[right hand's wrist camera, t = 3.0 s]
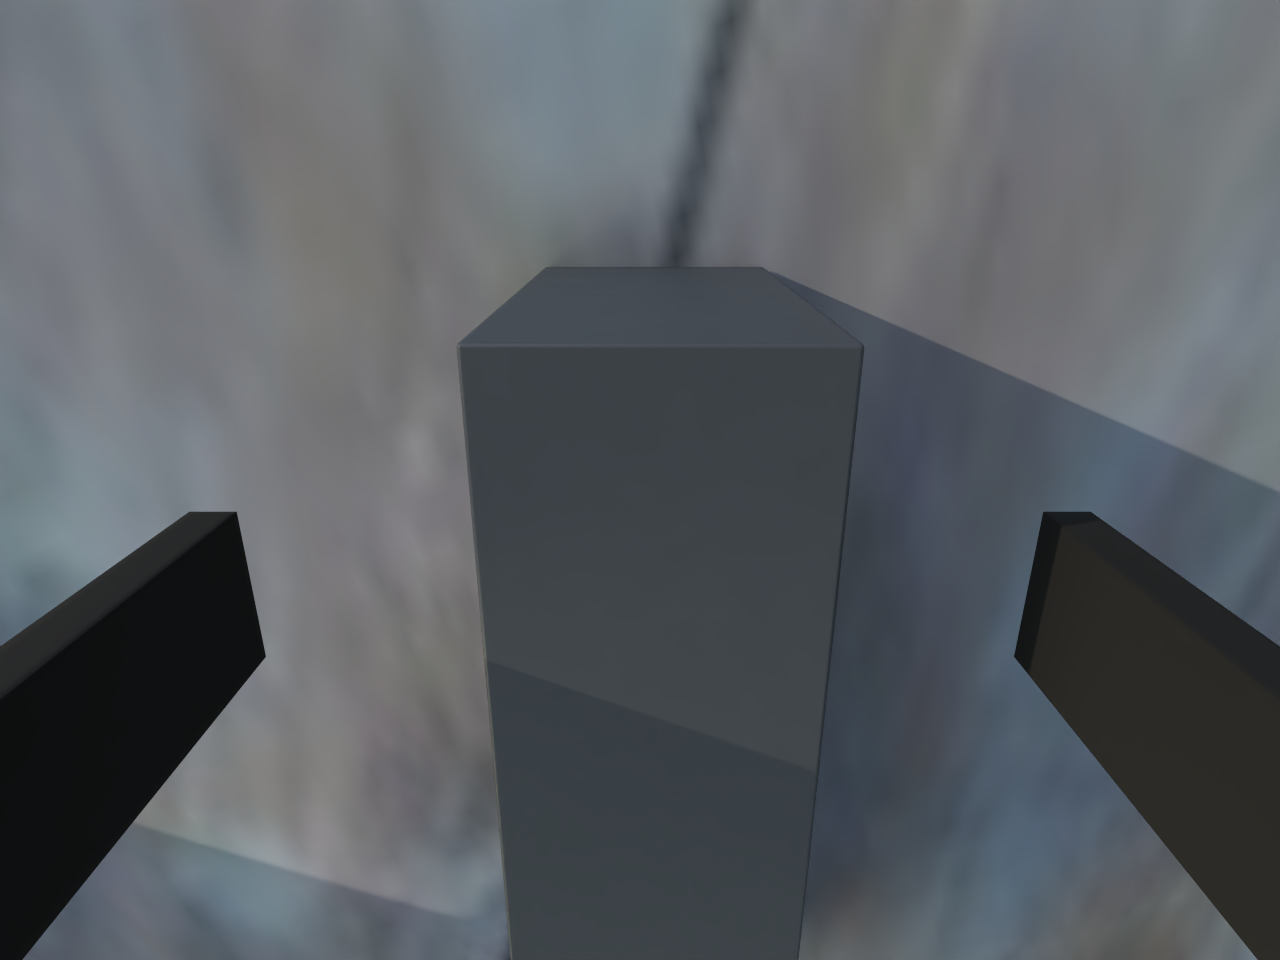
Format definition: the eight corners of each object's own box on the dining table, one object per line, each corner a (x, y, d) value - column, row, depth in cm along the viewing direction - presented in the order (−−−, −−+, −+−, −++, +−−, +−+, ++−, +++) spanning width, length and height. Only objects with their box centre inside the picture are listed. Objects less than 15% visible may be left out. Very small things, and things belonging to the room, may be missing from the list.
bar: (544, 267, 18) (455, 343, 10) (764, 266, 18) (866, 344, 10) (575, 963, 26) (542, 1323, 18) (724, 964, 26) (759, 1326, 18)
